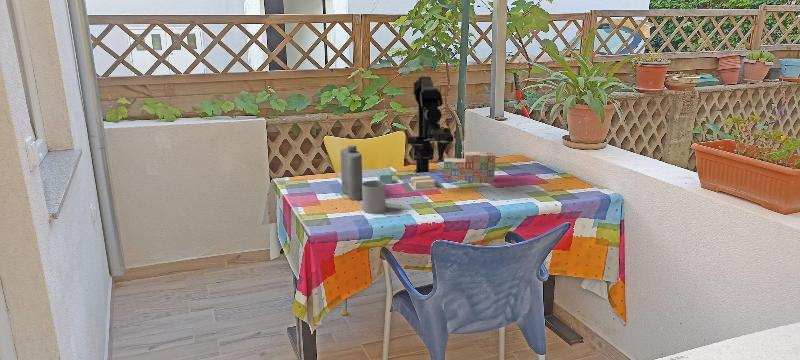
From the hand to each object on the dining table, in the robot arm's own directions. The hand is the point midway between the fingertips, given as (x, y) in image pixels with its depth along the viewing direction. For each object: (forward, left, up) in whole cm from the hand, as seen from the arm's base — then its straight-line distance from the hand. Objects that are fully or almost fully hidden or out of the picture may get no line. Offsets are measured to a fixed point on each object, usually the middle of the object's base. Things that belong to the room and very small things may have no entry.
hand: (431, 160), depth 230 cm
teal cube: (-14, -16, -13) cm, 25 cm away
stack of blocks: (-11, +20, -13) cm, 26 cm away
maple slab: (-5, -2, -12) cm, 13 cm away
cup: (+17, -26, -13) cm, 34 cm away
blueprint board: (-5, -2, -13) cm, 14 cm away
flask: (-3, -31, -13) cm, 34 cm away
